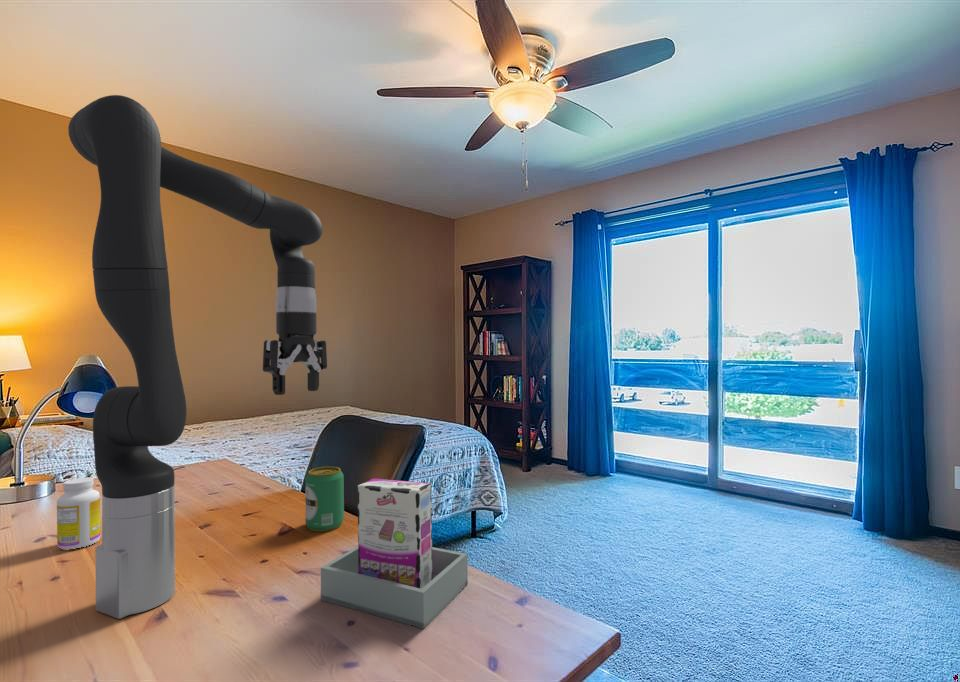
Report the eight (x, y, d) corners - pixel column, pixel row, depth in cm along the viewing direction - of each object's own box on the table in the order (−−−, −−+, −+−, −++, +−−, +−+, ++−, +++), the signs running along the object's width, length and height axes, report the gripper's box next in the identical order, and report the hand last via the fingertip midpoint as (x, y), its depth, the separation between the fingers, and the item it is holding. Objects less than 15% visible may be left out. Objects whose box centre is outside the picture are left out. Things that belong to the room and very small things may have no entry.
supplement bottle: (95, 535, 102) (95, 474, 102) (104, 543, 97) (104, 479, 97) (53, 545, 96) (53, 481, 96) (61, 554, 92) (60, 487, 92)
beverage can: (299, 525, 106) (298, 470, 106) (332, 516, 112) (332, 464, 112) (316, 535, 100) (316, 477, 101) (350, 525, 106) (350, 470, 106)
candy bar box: (434, 584, 78) (433, 482, 78) (419, 600, 73) (419, 491, 73) (373, 573, 82) (373, 476, 82) (356, 587, 77) (356, 484, 77)
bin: (423, 628, 67) (423, 592, 67) (320, 599, 75) (320, 567, 75) (467, 584, 79) (467, 553, 79) (375, 563, 87) (375, 535, 87)
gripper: (281, 308, 88) (282, 397, 88) (336, 312, 101) (336, 390, 101) (252, 309, 91) (253, 395, 91) (309, 313, 104) (309, 389, 104)
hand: (297, 392), depth 96 cm, fingers open, 8 cm apart
